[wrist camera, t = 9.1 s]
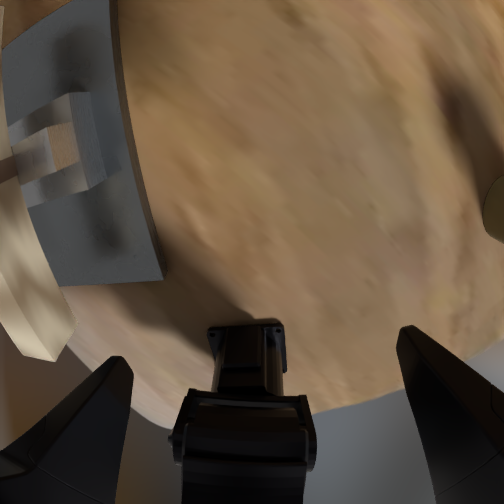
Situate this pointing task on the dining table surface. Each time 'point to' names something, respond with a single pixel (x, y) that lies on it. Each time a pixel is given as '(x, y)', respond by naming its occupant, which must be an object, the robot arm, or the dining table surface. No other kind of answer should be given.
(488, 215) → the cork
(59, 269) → the fulcrum
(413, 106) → the dining table surface
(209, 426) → the robot arm
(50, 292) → the beige long bar
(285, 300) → the dining table surface
